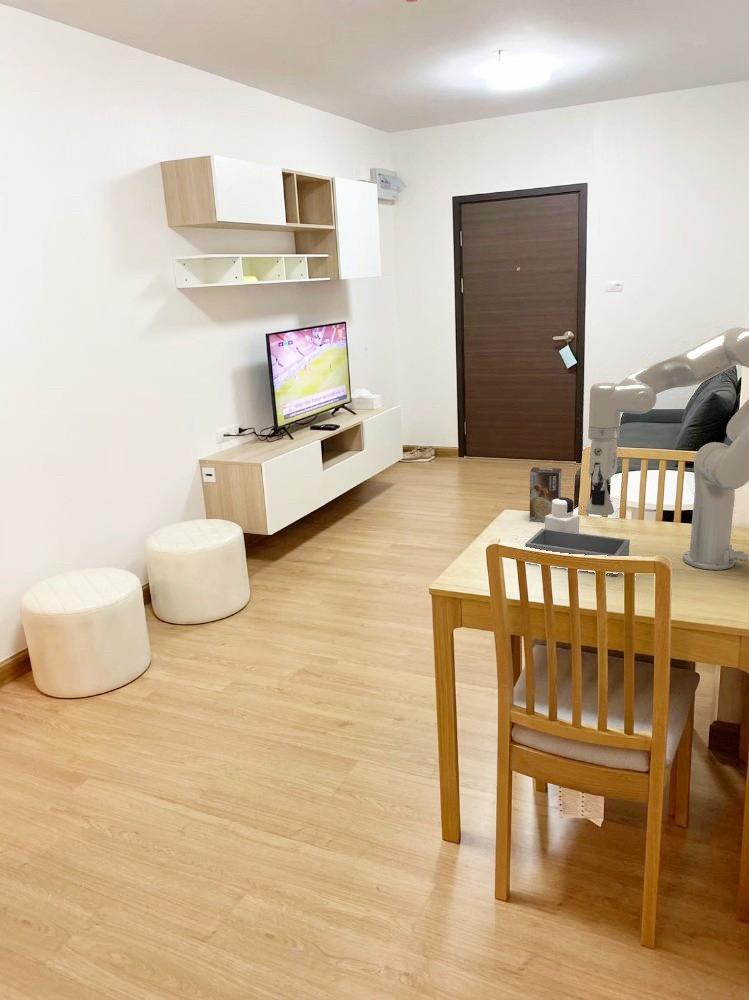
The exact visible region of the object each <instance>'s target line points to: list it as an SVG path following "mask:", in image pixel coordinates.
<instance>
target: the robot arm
mask: <svg viewBox="0 0 749 1000" xmlns="http://www.w3.org/2000/svg"><path fill="white" fill-rule="evenodd" d="M737 365H739V366H742V367H745V368H749V328H744V327H734V328H730V329H727V330H724V331H723V332H721V333H719V334H718V335H716V336H714V337H712V338H710V339H708V340H706V341H704V342H702V343H700V344H698V345H697V346H694V347H693V348H691V349H689V350H687V351H685V352H683V353H680V354H678V355H675V356H672V357H670V358H667V359H665V360H662V361H659V362H657V363H654V364H652V365H649V366H647V367H645V368H643V369H641V370H639V371H637V372H635V373H634V374H631V375H630V376H628V377H626V378H624V379H623V380H622V381H621V382H619V384H618V383H614V382H598V383H594V384H593V385H591V387H590V391H589V409H588V410H589V411H588V413H589V415H588V435H587V438H588V439H589V440H591V444H590V453H589V454H590V455H589V468H588V469H589V477H590V478H591V496H592V500H591V504H592V505H600V506H603V505H604V504H605V490H604V483H605V478H606V480H607V490H608V493H609V496H610V497H611V486H612V485H611V483H612V480H611V478H612V477H613V476H614V475H615V474H616V473H617V472H618V440H620V432H621V431H620V426H621V413H625V414H626V413H627V414H634V415H635V414H636V415H642V414H646V413H648V412H650V411H651V410H653V408H654V407H655V405H656V404H657V399H658V398H657V394H659V393H663V392H665V391H667V390H671V389H672V390H673V389H675V388H686V387H691V386H697V385H700V384H701V383H704V382H705V381H707V380H709V379H712V378H713V377H715V376H717V375H719V374H721V373H723V372H725V371H727V370H728V369H731V368H733V367H735V366H737ZM725 431H726V435H727V437H728V439H729V440H730V441H731V442H732V443H731V444H729V445H727V444H725V443H724V442H716V441H714V442H713V441H712V442H709V443H706V444H704V445H702V447H700V448H699V449H698V451H697V452H696V454H695V457H694V461H693V474H694V475H693V476H694V493H693V495H694V497H693V507H692V508H693V509H692V519H691V520H692V521H691V531H690V533H691V534H690V544H689V550H687V551H685V552H684V553H683V555H682V561H683V562H684V563H685V564H687V565H689V566H691V567H694V568H699V569H705V570H714V571H715V570H716V571H717V570H719V571H720V570H727V569H730V568H732V567H734V566H735V564H736V563H735V562H736V561H740V562H748V561H749V560H748V558H749V554H748V553H745V552H744V551H743V550H742V551H741V550H735V549H733V544H731V538H732V536H731V535H732V527H733V518H734V517H733V516H734V508H735V496H736V495H735V492H736V491H735V490H738V489H741V488H742V487H744V486H746V485H747V484H748V483H749V398H748V399H747V400H746V401H745V402H744V403H743V404H742V406H741V407H740V408H739V409H738V410H737V412H735V414H734V415H733V416H732V417H731V418H730V419H729V421H728V423H727V426H726V430H725ZM599 476H602V477H603V478H599ZM599 480H600V481H602V482H601V483H600V482H599Z"/></svg>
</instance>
